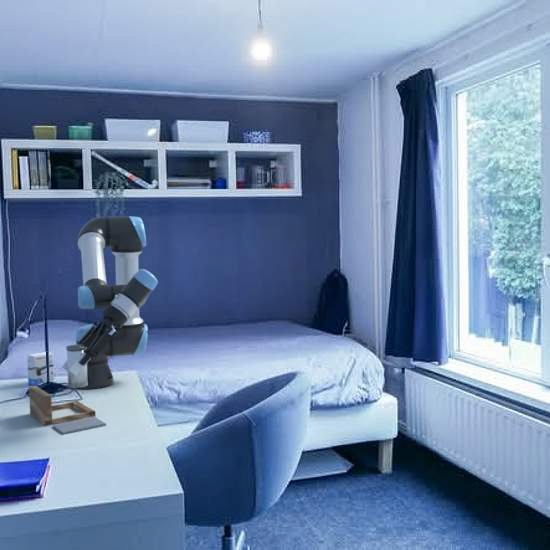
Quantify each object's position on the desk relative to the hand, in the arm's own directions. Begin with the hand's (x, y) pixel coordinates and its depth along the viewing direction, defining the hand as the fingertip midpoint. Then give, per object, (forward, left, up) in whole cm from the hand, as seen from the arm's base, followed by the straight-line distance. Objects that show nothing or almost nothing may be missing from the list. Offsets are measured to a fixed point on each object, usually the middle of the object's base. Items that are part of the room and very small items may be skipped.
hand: (68, 371), depth 182 cm
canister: (-3, 0, -5) cm, 6 cm away
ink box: (-11, -63, -18) cm, 66 cm away
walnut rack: (-3, -15, -17) cm, 23 cm away
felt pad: (-3, 0, -17) cm, 17 cm away
